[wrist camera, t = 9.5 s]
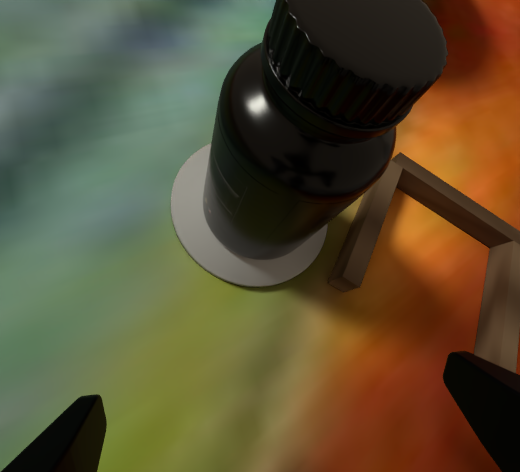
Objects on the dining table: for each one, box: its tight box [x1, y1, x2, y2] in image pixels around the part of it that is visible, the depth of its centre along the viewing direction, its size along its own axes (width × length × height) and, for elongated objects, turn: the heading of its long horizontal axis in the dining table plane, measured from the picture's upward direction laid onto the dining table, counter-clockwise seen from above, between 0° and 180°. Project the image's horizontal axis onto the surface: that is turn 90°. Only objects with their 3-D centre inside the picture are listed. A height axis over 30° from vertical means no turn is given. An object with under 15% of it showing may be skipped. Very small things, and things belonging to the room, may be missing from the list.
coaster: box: [171, 144, 328, 287], centre depth 19 cm, size 10×10×1 cm
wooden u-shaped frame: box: [328, 152, 520, 373], centre depth 21 cm, size 11×12×2 cm
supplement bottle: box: [203, 0, 448, 260], centre depth 13 cm, size 7×7×12 cm
